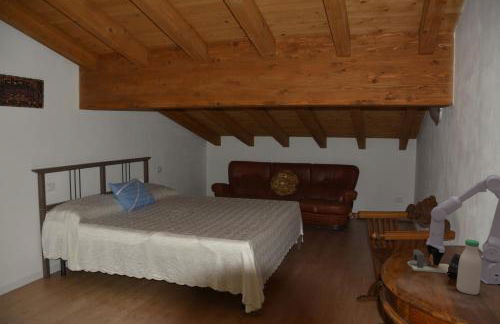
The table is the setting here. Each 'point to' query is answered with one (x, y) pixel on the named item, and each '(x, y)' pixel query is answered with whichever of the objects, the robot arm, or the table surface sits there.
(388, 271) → the table surface
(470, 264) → the milk bottle
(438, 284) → the table surface
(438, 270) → the board
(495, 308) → the table surface
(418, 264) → the eye post
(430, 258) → the hook rod
